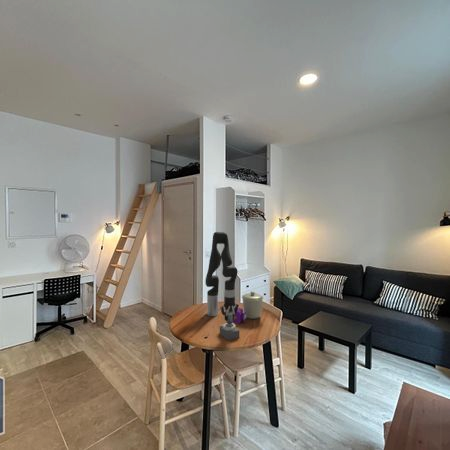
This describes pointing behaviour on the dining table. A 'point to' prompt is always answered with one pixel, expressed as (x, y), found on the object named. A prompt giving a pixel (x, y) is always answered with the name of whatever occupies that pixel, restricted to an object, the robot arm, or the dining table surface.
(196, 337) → the dining table surface
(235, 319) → the toy camera
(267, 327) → the dining table surface
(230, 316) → the lens
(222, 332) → the camera body
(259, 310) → the canister
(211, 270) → the robot arm
